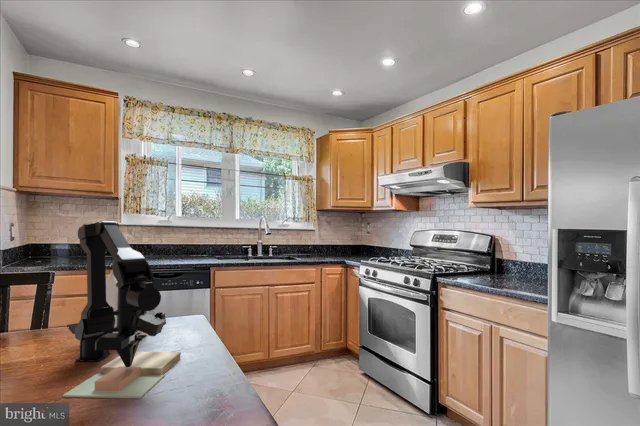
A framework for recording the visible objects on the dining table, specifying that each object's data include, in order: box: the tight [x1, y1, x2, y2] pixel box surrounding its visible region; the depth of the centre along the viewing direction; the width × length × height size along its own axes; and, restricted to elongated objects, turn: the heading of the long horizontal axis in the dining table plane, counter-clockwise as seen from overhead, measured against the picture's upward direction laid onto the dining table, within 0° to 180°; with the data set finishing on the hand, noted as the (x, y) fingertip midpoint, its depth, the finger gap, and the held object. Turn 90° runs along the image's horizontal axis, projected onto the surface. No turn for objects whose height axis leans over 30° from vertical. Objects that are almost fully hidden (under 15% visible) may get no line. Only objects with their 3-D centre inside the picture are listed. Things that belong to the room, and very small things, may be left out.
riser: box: [100, 350, 181, 375], centre depth 99 cm, size 16×12×2 cm
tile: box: [94, 366, 141, 391], centre depth 88 cm, size 6×9×2 cm, turn 176°
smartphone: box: [66, 322, 79, 335], centre depth 136 cm, size 7×1×15 cm
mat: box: [62, 373, 166, 399], centre depth 87 cm, size 18×12×1 cm, turn 89°
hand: (128, 366), depth 92 cm, fingers closed
